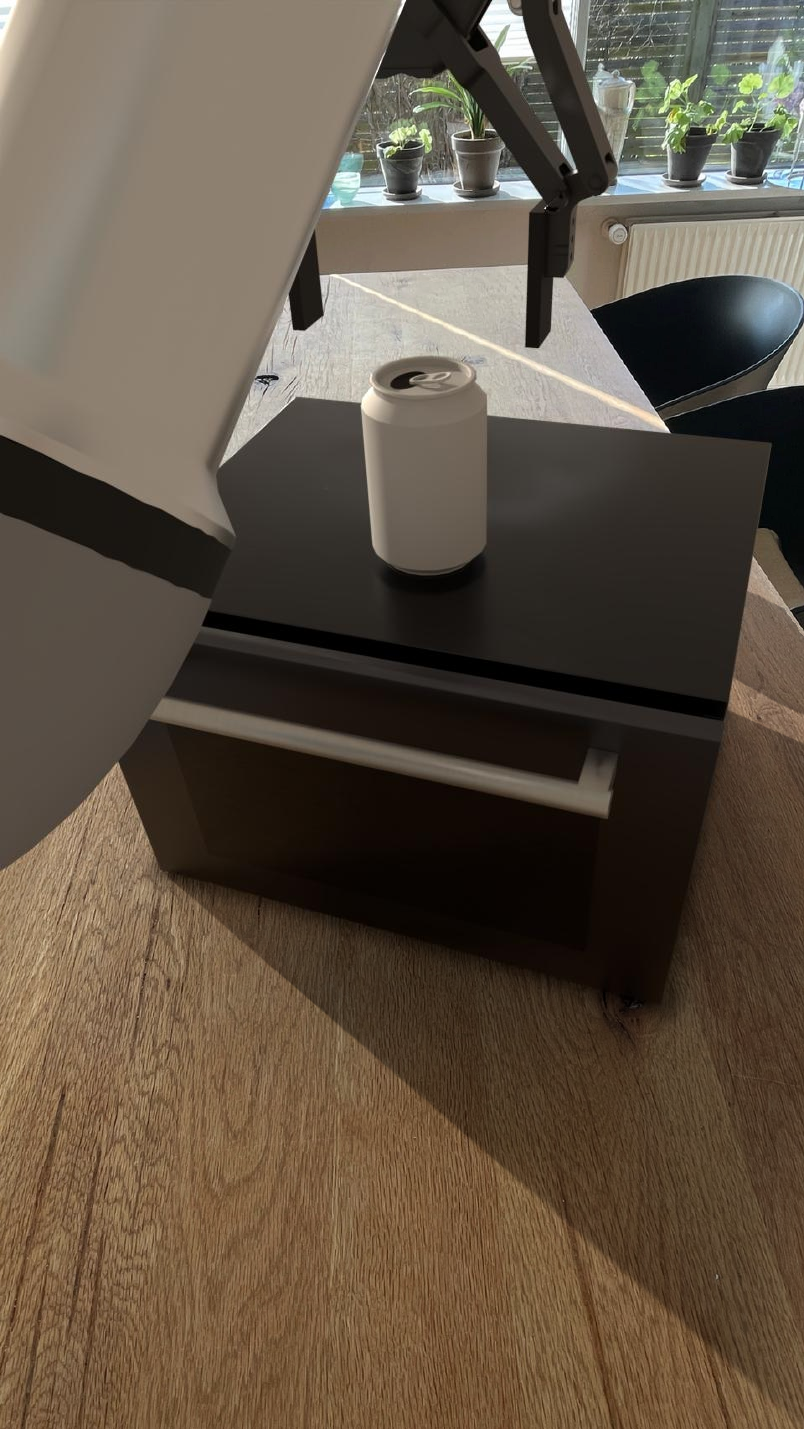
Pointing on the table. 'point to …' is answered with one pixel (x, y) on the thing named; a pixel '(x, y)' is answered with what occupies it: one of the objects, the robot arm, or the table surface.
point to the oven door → (431, 804)
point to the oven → (509, 557)
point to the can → (426, 463)
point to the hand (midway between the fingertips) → (419, 331)
